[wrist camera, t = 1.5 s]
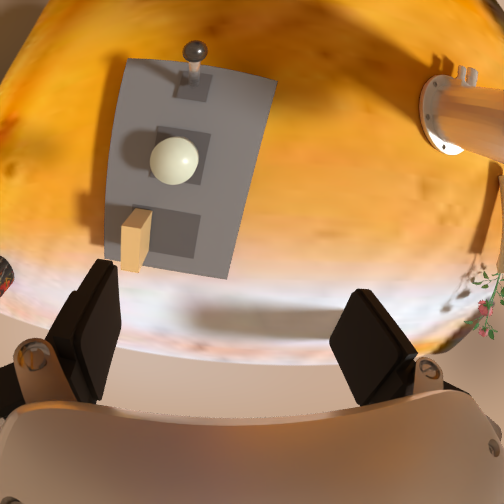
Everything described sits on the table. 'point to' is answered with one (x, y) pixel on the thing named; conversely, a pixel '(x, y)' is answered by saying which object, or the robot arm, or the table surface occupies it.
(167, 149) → the push button
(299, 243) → the table surface
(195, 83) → the toggle lever
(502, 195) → the flower vase
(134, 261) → the paddle switch
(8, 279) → the deodorant
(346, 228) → the table surface
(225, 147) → the control panel
